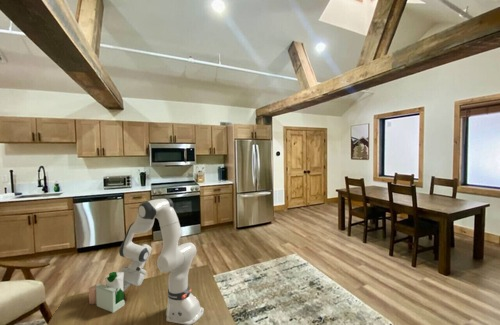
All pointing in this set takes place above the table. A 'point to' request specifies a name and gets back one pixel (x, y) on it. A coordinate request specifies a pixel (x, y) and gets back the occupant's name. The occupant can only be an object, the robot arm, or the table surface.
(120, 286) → the soya milk
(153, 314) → the table surface
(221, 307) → the table surface
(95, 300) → the terracotta jar
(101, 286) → the display nook
